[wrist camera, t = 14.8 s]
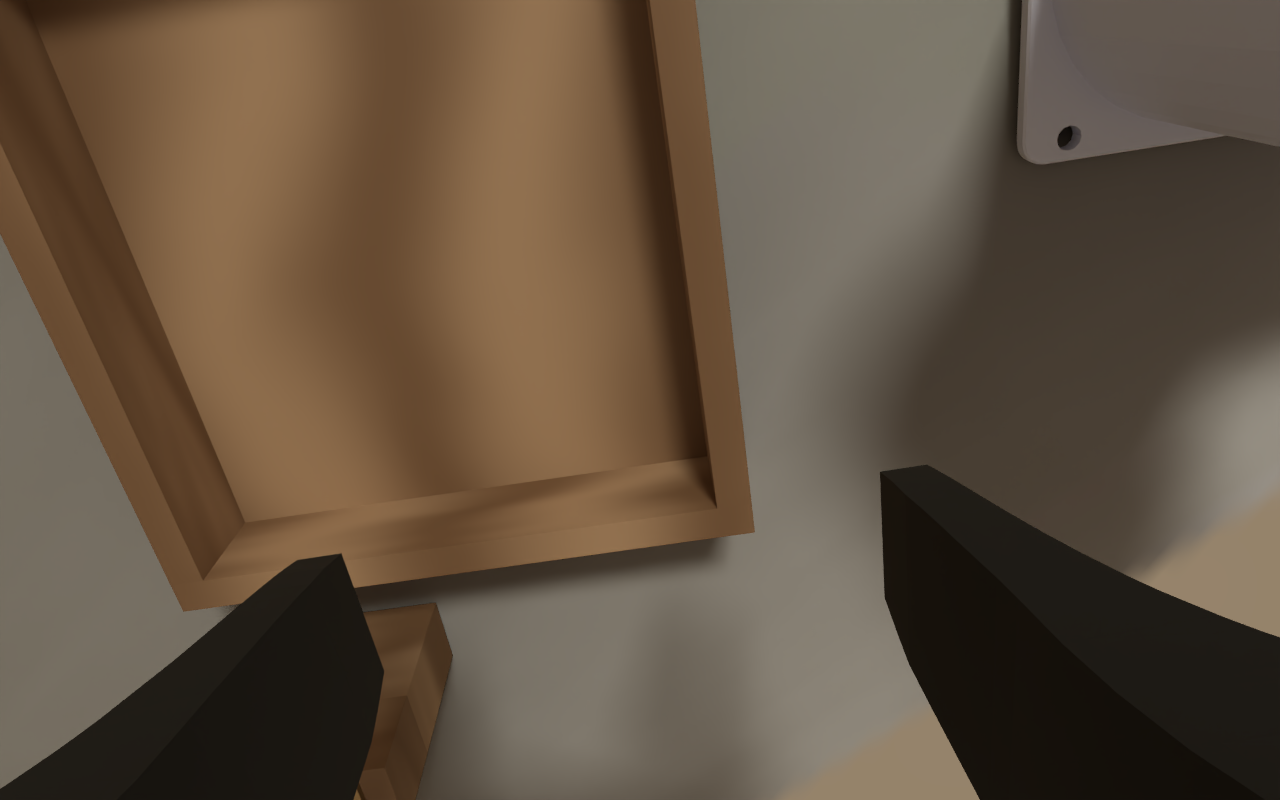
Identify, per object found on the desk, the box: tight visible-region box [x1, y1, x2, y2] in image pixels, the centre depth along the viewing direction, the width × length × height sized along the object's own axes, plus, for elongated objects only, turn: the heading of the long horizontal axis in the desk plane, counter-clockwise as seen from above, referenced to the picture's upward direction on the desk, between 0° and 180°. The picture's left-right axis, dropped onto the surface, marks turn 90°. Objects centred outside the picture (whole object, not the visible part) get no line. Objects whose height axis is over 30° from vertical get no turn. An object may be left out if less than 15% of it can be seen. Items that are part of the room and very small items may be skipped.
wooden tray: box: [0, 0, 755, 800], centre depth 18 cm, size 14×21×6 cm, turn 9°
